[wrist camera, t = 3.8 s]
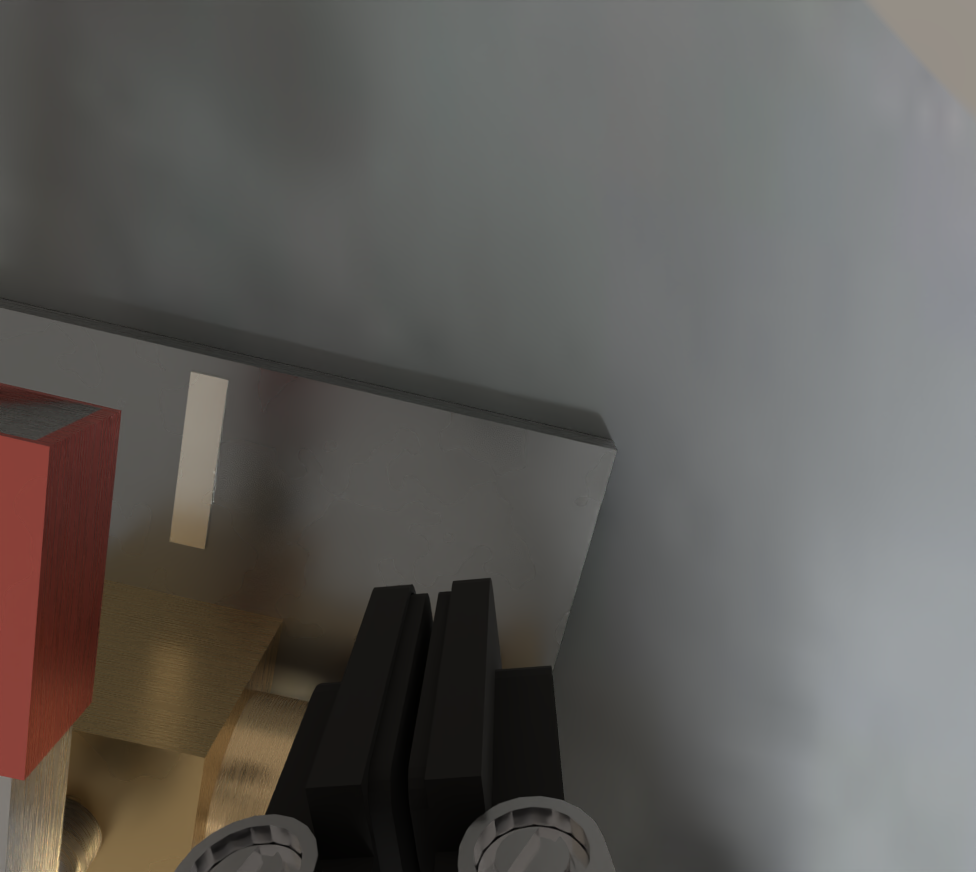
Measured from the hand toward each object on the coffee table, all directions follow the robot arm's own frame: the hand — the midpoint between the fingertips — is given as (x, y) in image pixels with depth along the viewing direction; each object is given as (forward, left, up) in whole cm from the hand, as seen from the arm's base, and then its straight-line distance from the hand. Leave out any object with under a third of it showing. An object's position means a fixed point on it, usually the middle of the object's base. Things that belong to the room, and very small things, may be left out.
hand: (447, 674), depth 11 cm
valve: (+6, +6, -11) cm, 14 cm away
